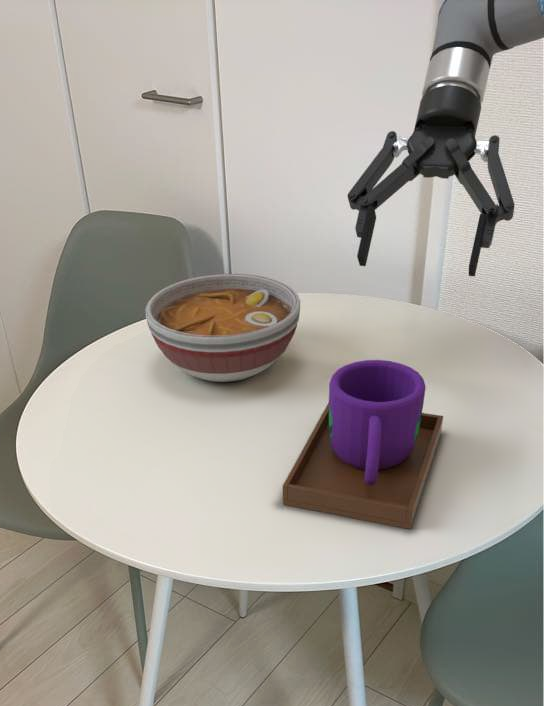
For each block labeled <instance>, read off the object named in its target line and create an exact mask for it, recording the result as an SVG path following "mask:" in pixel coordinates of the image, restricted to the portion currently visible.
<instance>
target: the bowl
mask: <svg viewBox="0 0 544 706" xmlns="http://www.w3.org/2000/svg"><path fill="white" fill-rule="evenodd" d="M300 314H301V299H300V297H299V295H298V293H297V292H296V291H295V290H294V289H293V288H292V287H290V286H289V285H287V284H286V283H284V282H281V281H280V280H277V279H273V278H270V277H266V276H261V275H254V274H246V273H217V274H208V275H202V276H201V275H200V276H196V277H191V278H188V279H184V280H180V281H178V282H175V283H173V284H170V285H168V286H166V287H164V288H162V289H160V290H159V291H157V292H156V293H155V294H154V295H153V296H152V297H151V298H150V299H149V300H148V302H147V305H146V307H145V318H146V323H147V327H148V329H149V331H150V334H151V337H152V338H153V341H154V343H155V344H156V346H157V347H158V349H159V350H160V351H161V353H162V354H163V355H164V357H165V358H166V359H167V360H169V361H170V362H171V363H172V364H173V365H174V366H176V367H177V368H178V369H179V370H180V371H182V372H183V373H185V374H187V375H190V376H192V377H195V378H198V379H200V380H204V381H208V382H216V383H230V382H237V381H242V380H246V379H249V378H251V377H253V376H256V375H257V374H258V375H259V374H260V373H262V372H263V371H265V370H267V369H268V368H269V367H271V366H272V365H273V364H274V363H275V362H276V361H277V360H278V359H279V358H280V357H281V356H282V355H283V354H284V353H285V351H286V350H287V348H288V346H289V344H290V343H291V341H292V339H293V338H294V335H295V333H296V330H297V327H298V322H299V321H300Z"/></svg>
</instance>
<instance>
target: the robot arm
mask: <svg viewBox="0 0 544 706" xmlns="http://www.w3.org/2000/svg"><path fill="white" fill-rule="evenodd" d="M542 39H544V0H442V3H441V5H440V7H439V10H438V14H437V24H436V29H435V35H434V40H433V47H432V52H431V56H430V58H429V64H428V66H427V69H426V75H425V78H424V82H423V88H422V92H421V98H420V101H419V106H418V111H417V115H416V120H415V124H414V129H413V132H412V134H411V135H410V136H409V137H403V136H398V135H397V132H396V131H394V130H391V131H389V132H388V133H387V134H386V136H385V139H384V142H383V146H382V148H381V149H380V150H379V152H378V153H377V154H376V156H374V158H373V159H372V160H371V163H370V164H369V165H368V166H367V167H366V169H364V171H363V173H362V174H361V175H360V177H359V178H358V180H357V181H356V182H355V183H354V185H353V186H352V188H351V189H350V190H349V191H348V193H347V201H348V204H349V207H350V209H351V210H353V211H354V210H355V211H358V213H357V218H356V223H355V227H354V229H355V233H356V236H357V238H360V241H359V245H358V251H357V254H356V257H357V261H358V263H359V267H366V266H367V263H368V257H369V253H370V249H371V244H372V239H373V235H374V231H375V226H376V222H377V221H376V220H377V213H376V210H377V209H378V208H380V206H382V205H383V204H384V203H385V202H386V201H388V199H390V198H391V197H392V196H394V194H396V193H397V192H399V190H400V189H401V188H403V187H404V186H405V185H406V184H408V182H412V181H413V180H415V179H416V178H417V177H418V176H420V175H421V176H422V177H423V178H429V179H430V178H435V177H436V178H440V179H445V180H446V179H447V180H448V179H449V178H450V177H453V176H455V178H456V180H457V181H458V183H459V184H460V185H462V186H463V188H464V189H465V191H466V193H467V194H468V196H469V197H470V199H471V200H472V202H473V203H474V205H475V206H476V208H477V209H478V211H479V212H480V213H479V217H478V222H477V225H476V226H477V227H476V231H475V236H474V240H473V244H472V250H471V254H470V259H469V263H468V277H476V272H477V268H478V263H479V259H480V254H481V250H482V249H483V248H484V249H490V248H491V246H492V245H493V244H492V242H493V239H494V234H495V230H496V225H497V224H498V223H499V222H501V221H507V222H509V221H511V220H512V219H513V218H514V213H515V207H516V205H515V201H514V198H513V195H512V192H511V189H510V186H509V182H508V179H507V175H506V173H505V169H504V167H503V163H502V161H501V157H500V154H499V152H500V141H501V140H500V137H499V135H495V134H494V135H491V136H490V137H489V139H488V140H477V139H476V136H477V130H478V125H479V121H480V118H481V117H480V116H481V111H482V104H483V102H484V98H485V92H486V88H487V84H488V78H489V74H490V69H491V66H492V62H493V57H494V55H496V54H498V53H501V52H505V51H508V50H511V49H514V48H515V47H519V46H522V45H525V44H528V43H532V42H535V41H539V40H542ZM404 151H407V153H408V155H407V156H406V157H404V159H403V160H402V161H401V164H399V165H398V166H397V167H396V168H395V169H393V170H392V171H391V172H390V173H389V174H388V175H387V176H386V177H385V178H384V179H382V178H383V176H384V174H385V173H386V172H387V171H388V169H389V168H390V166H391V165H392V163H393V162H394V160H395V158H398V157H400V155H401V154H402V153H403V152H404ZM476 154H478V155H479V156H480V158H481V159H480V160H482V161H483V162H484V163H487V165H486V166H487V170H488V175H489V177H490V180H491V184H492V187H493V190H494V193H495V197H496V200H497V203H496V202H495V201H494V200H493V198H492V197H491V195H490V194H489V192H488V190H487V189H486V188H485V186H484V185H483V183H482V182H481V180H480V178H479V176H477V174H476V172H475V171H474V169H473V168H472V166H471V162H470V160H471V159H473V158H474V157H475V155H476ZM381 179H382V180H381ZM380 180H381V181H380ZM449 180H450V179H449Z"/></svg>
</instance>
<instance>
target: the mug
mask: <svg viewBox="0 0 544 706" xmlns="http://www.w3.org/2000/svg"><path fill="white" fill-rule="evenodd" d="M426 389H427V387H426V383H425V380H424V378H423V376H422V375H421V374H420V372H419V371H417V370H415V369H414V368H412V367H410V366H409V365H405V364H403V363H400V362H395V361H392V360H383V359H366V360H359V361H355V362H352V363H351V362H350V363H348V364H345V365H343V366H342V367H339V368H338V369H337V370H336V371H335V372H334V373H333V374H332V375H331V378H330V380H329V386H328V403H329V430H330V439H331V445H332V448H333V450H334V452H335V454H336V455H337V457H339V458H340V459H341V460H342V461H344V462H346V463H347V464H349V465H351V466H354V467H357V468H361V469H365V482H366V483H367V484H368V485H374V484H375V483H376V481H377V475H378V470H381V469H387V468H391V467H393V466H396V465H399V464H401V463H402V462H404V461H405V460H406V459H407V458H408V457H409V455H410V454H411V452H412V451H413V448H414V446H415V443H416V439H417V435H418V430H419V425H420V420H421V415H422V413H423V410H424V402H425V395H426Z"/></svg>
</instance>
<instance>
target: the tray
mask: <svg viewBox="0 0 544 706" xmlns="http://www.w3.org/2000/svg"><path fill="white" fill-rule="evenodd" d="M443 422H444V415H438V414H434V413H426V412H422V415H421V420H420V425H419V430H418V435H417V439H416V443H415V446H414V448H413V451H412V452H411V454H410V455H409V457H408V458H407V459H406V460H405V461H404V462H402V463H401V464H399V465H396V466H393V467H391V468H387V469H381V470H378V475H377V481H376V483H375V484H374V485H368V484H367V483H366V482H365V469H361V468H357V467H354V466H351V465H349V464H347V463H346V462H344V461H342V460H341V459H340V458H339V457H337V455H336V454H335V452H334V450H333V448H332V445H331V439H330V430H329V402H328V403H327V404H326V406H325V408H324V410H323V412H322V413H321V415H320V417H319V418H318V421H317V423H316V424H315V427H314V428H313V429H312V432H311V434H310V435H309V437H308V439H307V441H306V442H305V445H304V446H303V448H302V450H301V452H300V453H299V455H298V456H297V459H296V461H295V463H294V464H293V466H292V468H291V470H290V472H289V473H288V475H287V477H286V479H285V481H284V483H283V484H282V505H284V506H288V507H289V506H290V507H293V508H298V509H299V508H300V509H303V510H304V509H306V510H309V511H315V512H321V513H325V514H331V515H335V516H341V517H346V518H351V519H355V520H356V519H357V520H361V521H366V522H371V523H375V524H382V525H386V526H392V527H397V528H401V529H406V530H411V528H412V525H413V522H414V518H415V516H416V512H417V509H418V506H419V504H420V499H421V497H422V493H423V490H424V488H425V484H426V480H427V478H428V475H429V471H430V469H431V467H432V466H431V465H432V463H433V459H434V457H435V454H436V449H437V447H438V445H439V440H440V437H441V434H442V428H443Z"/></svg>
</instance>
